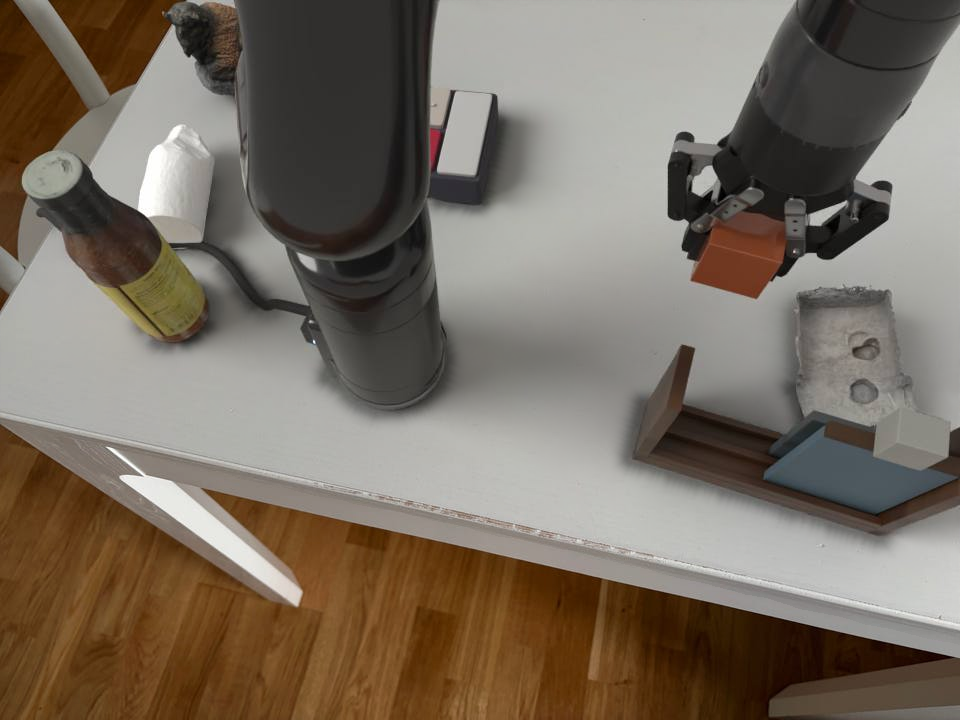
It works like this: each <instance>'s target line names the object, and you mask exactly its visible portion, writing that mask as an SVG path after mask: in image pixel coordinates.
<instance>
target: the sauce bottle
mask: <svg viewBox="0 0 960 720" xmlns="http://www.w3.org/2000/svg"><path fill="white" fill-rule="evenodd" d="M21 186H22V188H23V191H24V192H25V193H26V195H27V196H28V197H29V199H31V200H32V202H34V203H35V205H37V206H38V208H44V209H46V210H47V211H48V212H49V213H50V214H51V215H52V216H53V217H54V218H55V219H56V221H57V223H58V225H59V226H60V227H62V228H61V231H62V232H61V231H60V232H61V236H62V239H63V243H64V248H65V251H66V254H67V255H68V257H69V258H70V259H71V261H72V262H73V263H74V264H75V265H76V266H77V267H78V268H79V269H81V270H82V271H83V273H84V274H85V276H86V277H87V278H88V279H89V280H90V281H91V282H92V283H93V284H94V285H95V286H96V287H97V288H98V289H99V290H100V291H101V292H103V293H104V294H105V295H106V297H108V299H109V300H111V301H112V302H113V303H114V304H115V305H116V306H117V307H118V308H119V309H120V310H121V311H122V312H123V313H124V314H125V315H126V316H127V317H128V318H129V319H130V320H131V321H132V322H133V323H134V324H135V325H136V326H137V327H138V328H140V330H142V331H143V332H144V333H145V334H147V335H148V336H149V337H151V338H153V339H155V340H158V341H161V342H166V343H178V342H179V343H180V342H183V341H185V340H188V339H189V338H191V337H192V336H195V335H196V334H197V333H198V332H199V331H201V330H202V329H203V327H204V326H205V325H206V322H207V320H208V318H209V315H210V314H209V312H210V302H209V300H208V298H207V296H206V294H205V292H204V288H203V287H202V285H201V284H200V283H199V281H198V280H197V279H196V278H195V276H194V275H193V274H192V271H190V270H189V268H188V267H187V266H186V264H185V263H184V262H183V261H182V259H181V258H180V256H179V255H178V253H176V251H175V249H172V248H171V246H170V245H169V244H168V242H167V241H166V240H165V239H164V238H163V236H162V235H161V234H160V232H159V231H158V230H157V228H156V227H155V226H154V225H153V224H152V222H151V221H150V220H149V219H148V218H147V217H146V216H145V215H144V214H143V213H141V212H140V211H138V209H136V208H134V207H132V206H130V205H128V204H126V203H124V202H122V201H121V200H119V199H117V198H115V197H113V196H112V195H110V194H108V193H107V192H106V191H105V190H104V189H103V188H102V187H101V185H99V182H97V181H96V179H95V178H94V176H93V172H92V170H91V168H90V167H89V166H88V164H86V163H85V162H84V161H83V160H82V158H81V157H80V156H78V155H77V154H76V153H73V152H71V151H68V150H61V149H56V150H51V151H47V152H45V153H43V154H41V155H39V156H38V157H36V158H34V159H33V160H32V161H31V162H30V163H28V165H27V166H26V167H25V169H24V171H23V173H22V176H21Z"/></svg>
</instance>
